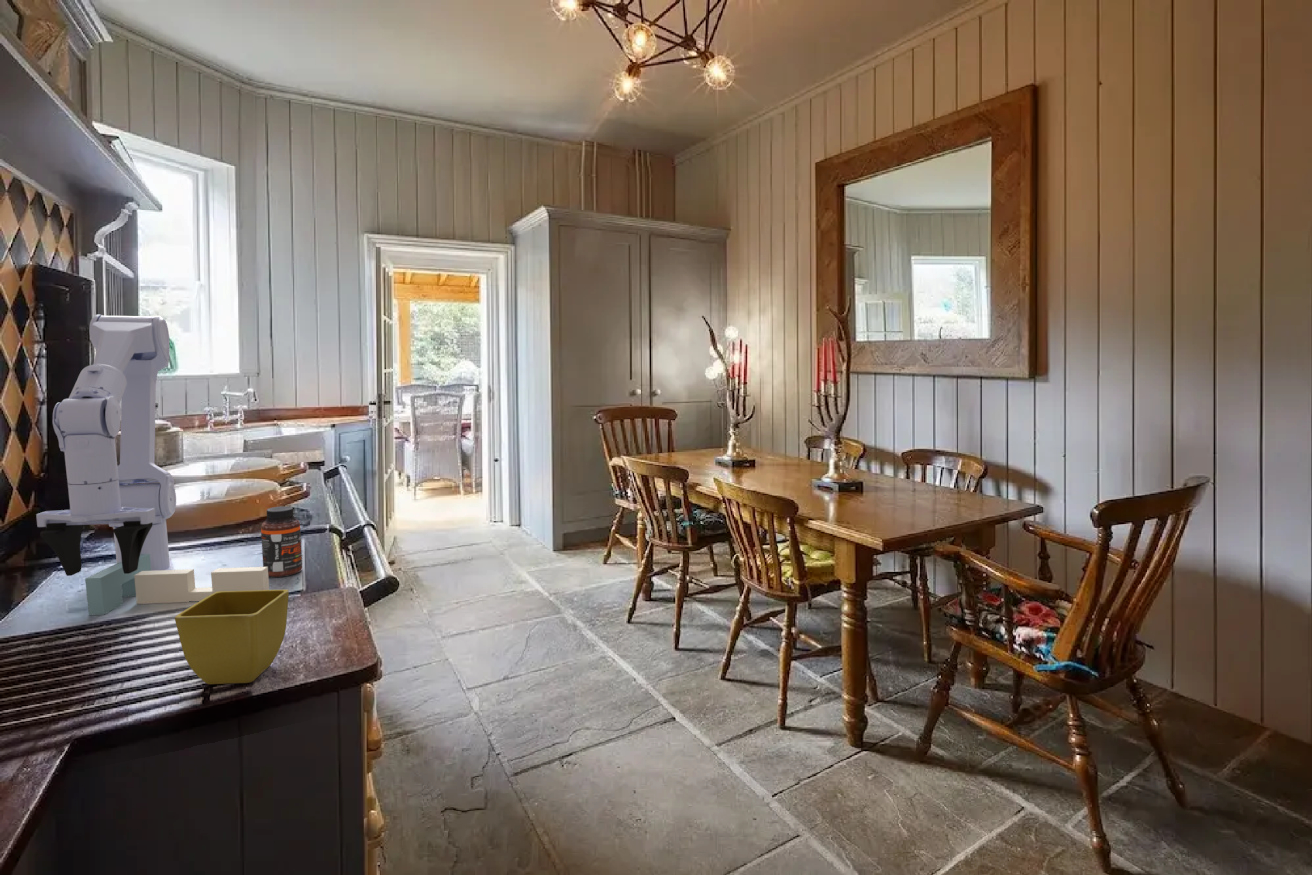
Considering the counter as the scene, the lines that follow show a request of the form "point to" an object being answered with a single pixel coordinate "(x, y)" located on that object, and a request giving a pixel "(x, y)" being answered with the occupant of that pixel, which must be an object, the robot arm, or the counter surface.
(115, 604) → the teal notched block
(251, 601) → the flower pot
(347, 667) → the counter surface
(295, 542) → the supplement bottle
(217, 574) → the cream rail
